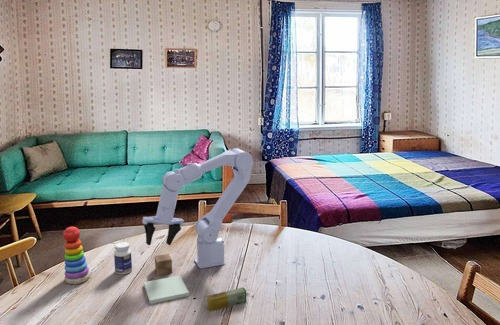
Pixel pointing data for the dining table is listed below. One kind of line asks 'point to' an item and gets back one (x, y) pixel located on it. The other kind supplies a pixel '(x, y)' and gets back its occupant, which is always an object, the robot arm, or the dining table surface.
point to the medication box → (226, 299)
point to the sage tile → (165, 289)
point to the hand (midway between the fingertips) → (158, 244)
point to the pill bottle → (122, 258)
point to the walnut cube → (163, 264)
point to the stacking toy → (74, 258)
